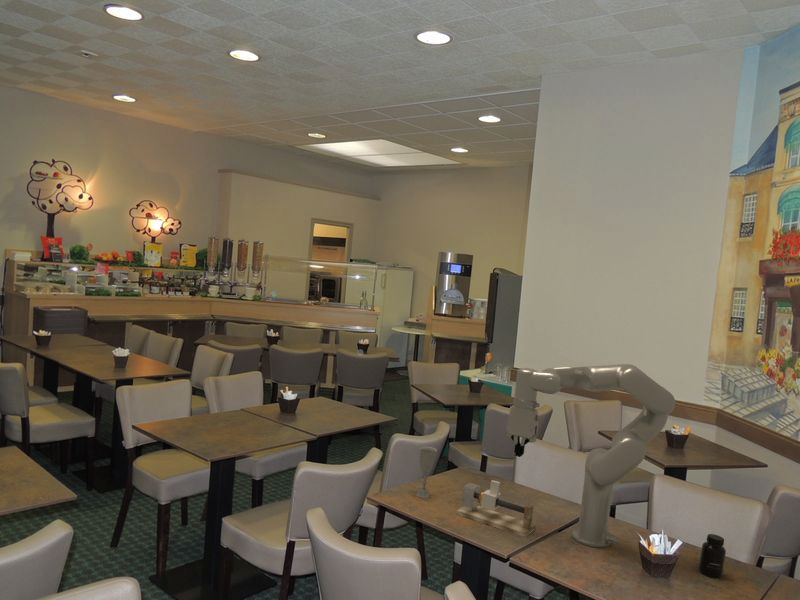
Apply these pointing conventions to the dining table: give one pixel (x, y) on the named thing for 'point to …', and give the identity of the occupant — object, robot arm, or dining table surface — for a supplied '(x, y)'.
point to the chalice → (426, 467)
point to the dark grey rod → (506, 504)
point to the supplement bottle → (712, 556)
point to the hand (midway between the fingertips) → (518, 455)
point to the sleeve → (491, 496)
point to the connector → (471, 497)
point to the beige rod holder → (502, 519)
